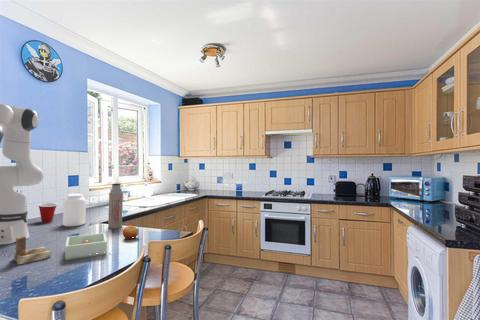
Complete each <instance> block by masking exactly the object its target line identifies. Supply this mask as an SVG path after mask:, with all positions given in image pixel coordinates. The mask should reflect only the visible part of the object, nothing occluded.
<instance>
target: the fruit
mask: <svg viewBox="0 0 480 320" xmlns="http://www.w3.org/2000/svg"><path fill="white" fill-rule="evenodd" d="M122 236H123V238H124V237H125V238H124V239H126V240H128V241H130V240H134V239H136V238H137V237H138V236H139V229H138V228H137V226H136V225H135V226H134V225H131V224H130V225H128V226H125V227H124V228H123V229H122ZM136 236H137V237H136ZM132 237H134V238H132Z"/></svg>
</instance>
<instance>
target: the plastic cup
mask: <svg viewBox="0 0 480 320" xmlns="http://www.w3.org/2000/svg"><path fill="white" fill-rule="evenodd" d="M37 206H38V209H39V215H40V219H41V223H51V222H53V219H54V217H55V216H54V215H55V211H56V208H57V206H58V203H56V202H43V203H38V204H37Z"/></svg>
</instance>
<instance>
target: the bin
mask: <svg viewBox="0 0 480 320" xmlns="http://www.w3.org/2000/svg"><path fill="white" fill-rule="evenodd" d="M85 240H89V241H90V243H86V244H83V242H84V241H85ZM107 243H108V241H107V236H106V232H99V233H88V234H81V235H71V236H67V238H66V242H65V247H64V248H65V249H64V261H70V260H71V261H72V260H78V259H83V258H84V259H85V258H89V257H91V258H92V257H99V256H104V255H107V254H108V253H107V251H108V250H107V249H108V247H107V245H108V244H107ZM104 252H105V253H104ZM96 253H98V254H96ZM89 254H91V255H89Z"/></svg>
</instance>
